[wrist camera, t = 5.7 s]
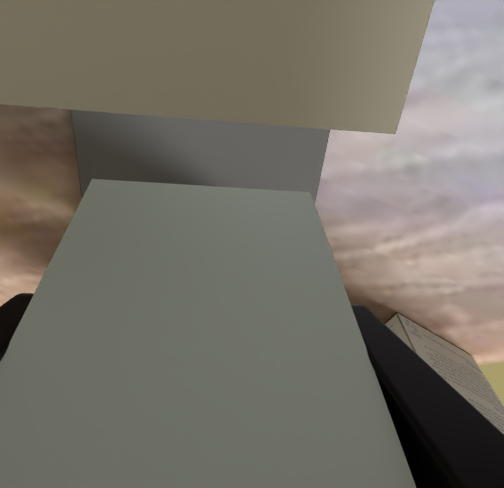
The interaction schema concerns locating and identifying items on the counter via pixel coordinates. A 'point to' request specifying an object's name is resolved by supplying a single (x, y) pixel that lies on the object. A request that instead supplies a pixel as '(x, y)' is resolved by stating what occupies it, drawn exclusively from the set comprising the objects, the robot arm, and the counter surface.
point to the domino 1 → (216, 59)
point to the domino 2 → (193, 351)
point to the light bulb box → (451, 367)
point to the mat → (197, 152)
